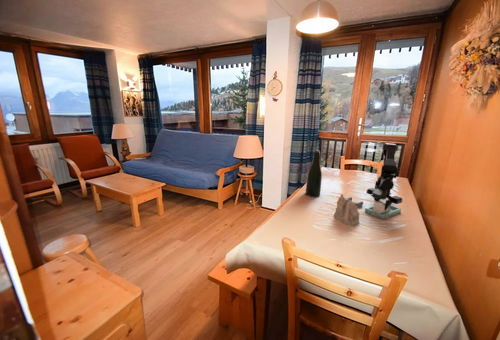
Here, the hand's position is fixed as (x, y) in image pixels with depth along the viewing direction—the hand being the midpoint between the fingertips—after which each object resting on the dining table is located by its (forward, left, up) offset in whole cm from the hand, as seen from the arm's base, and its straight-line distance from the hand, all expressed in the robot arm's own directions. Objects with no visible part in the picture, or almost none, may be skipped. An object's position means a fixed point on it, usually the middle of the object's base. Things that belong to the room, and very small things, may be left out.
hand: (381, 208), depth 136 cm
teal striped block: (-2, 0, -1) cm, 3 cm away
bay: (+4, -16, -3) cm, 17 cm away
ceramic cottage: (+24, -4, -3) cm, 24 cm away
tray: (-2, 0, -3) cm, 4 cm away
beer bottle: (+17, -41, -3) cm, 44 cm away
